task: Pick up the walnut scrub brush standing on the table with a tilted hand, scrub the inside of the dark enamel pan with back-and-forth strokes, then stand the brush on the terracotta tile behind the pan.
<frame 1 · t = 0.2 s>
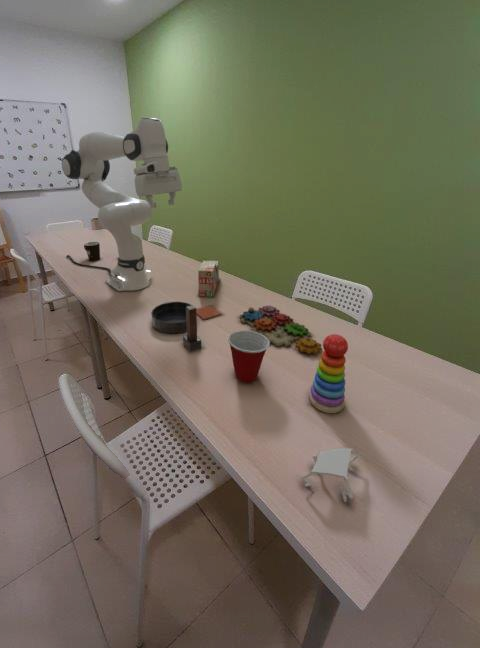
hand: (162, 206, 113), 39 cm above the table, tool pointing down, fingers open, 8 cm apart
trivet: (207, 313, 116), on the table
stacking toy: (325, 402, 73), on the table
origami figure: (334, 479, 56), on the table
scrub brush: (192, 345, 96), on the table
plastic cup: (246, 376, 83), on the table
coffee mug: (94, 259, 183), on the table
gear puzzle: (280, 332, 102), on the table
pan: (174, 322, 110), on the table
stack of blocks: (209, 287, 139), on the table
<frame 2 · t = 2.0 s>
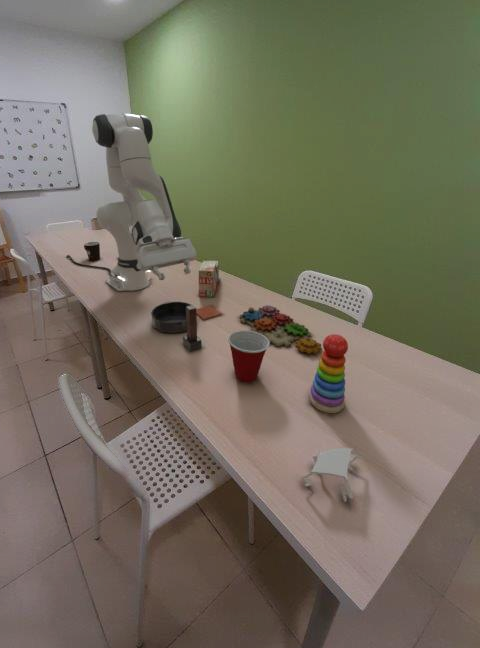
hand: (175, 276, 98), 20 cm above the table, tool tilted 45°, fingers open, 8 cm apart
nothing on the table moved.
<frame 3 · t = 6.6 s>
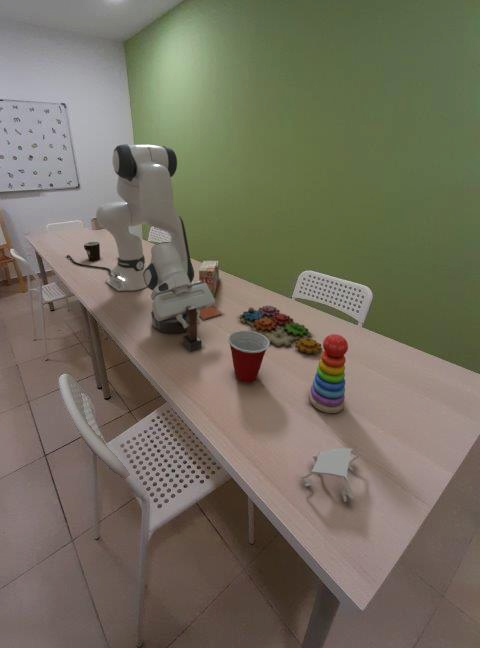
hand: (192, 325, 93), 8 cm above the table, tool tilted 45°, fingers closed on scrub brush, 2 cm apart
scrub brush: (192, 345, 96), on the table, touching gripper
everything else where it was.
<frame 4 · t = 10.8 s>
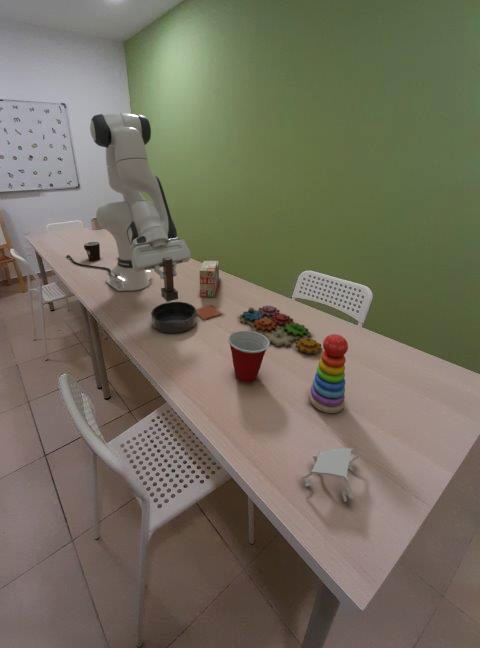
hand: (169, 277, 98), 20 cm above the table, tool tilted 45°, fingers closed on scrub brush, 2 cm apart
scrub brush: (169, 297, 102), point 12 cm above the table, touching gripper
everything else where it was.
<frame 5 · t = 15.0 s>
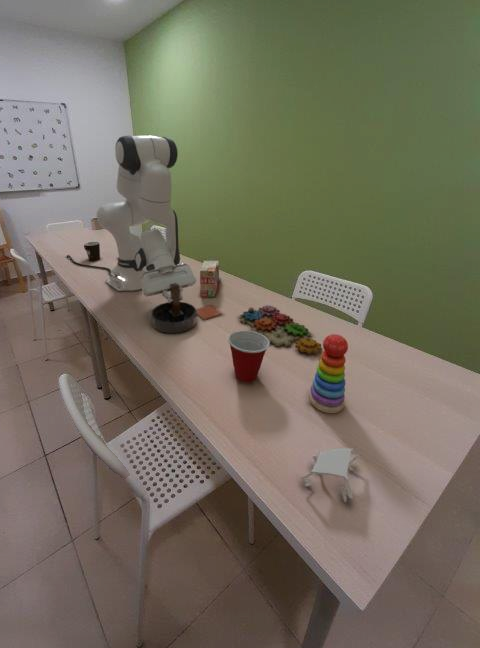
hand: (176, 301, 107), 9 cm above the table, tool tilted 45°, fingers closed on scrub brush, 2 cm apart
scrub brush: (176, 319, 111), point 1 cm above the table, touching gripper
everything else where it was.
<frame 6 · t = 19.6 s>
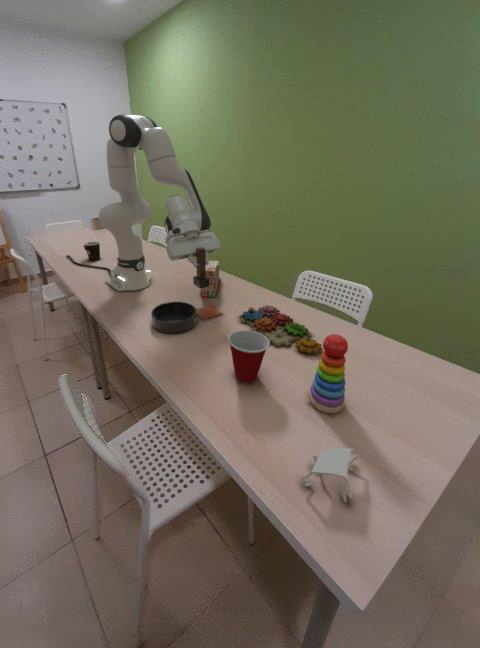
hand: (201, 265, 106), 20 cm above the table, tool tilted 45°, fingers closed on scrub brush, 2 cm apart
scrub brush: (201, 285, 110), point 12 cm above the table, touching gripper
everything else where it was.
when the fingers open (8 cm above the table, at t = 23.3 s): scrub brush stays where it is, resting on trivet.
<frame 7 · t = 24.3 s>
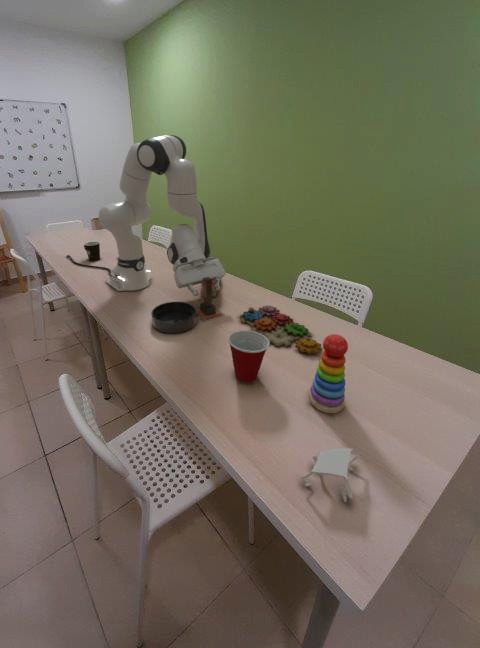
hand: (207, 292, 112), 9 cm above the table, tool tilted 45°, fingers open, 8 cm apart
scrub brush: (207, 311, 116), point 1 cm above the table, touching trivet
everything else where it was.
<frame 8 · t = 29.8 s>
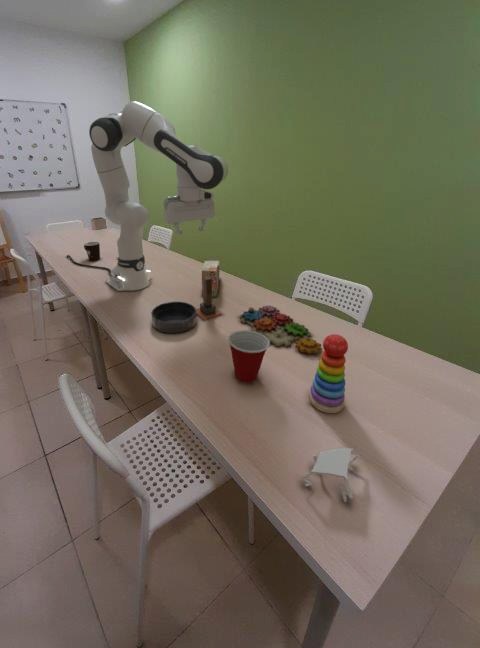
hand: (190, 232, 115), 29 cm above the table, tool pointing down, fingers open, 8 cm apart
nothing on the table moved.
at the end: scrub brush 0.2 cm off-centre on the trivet, point 0.6 cm above the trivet's base; scrub brush tilted 0°; the gripper is holding nothing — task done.
